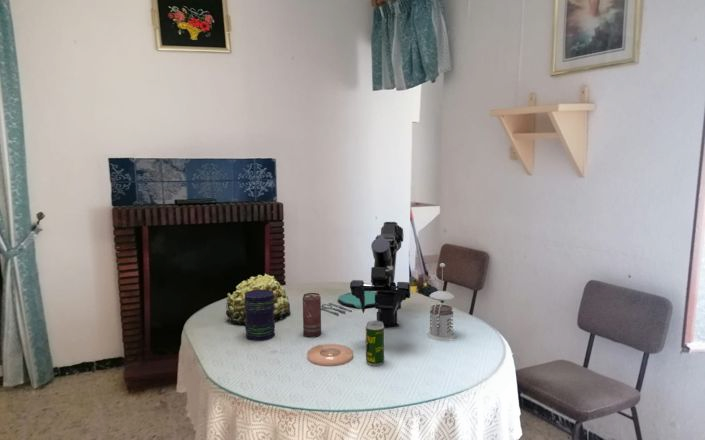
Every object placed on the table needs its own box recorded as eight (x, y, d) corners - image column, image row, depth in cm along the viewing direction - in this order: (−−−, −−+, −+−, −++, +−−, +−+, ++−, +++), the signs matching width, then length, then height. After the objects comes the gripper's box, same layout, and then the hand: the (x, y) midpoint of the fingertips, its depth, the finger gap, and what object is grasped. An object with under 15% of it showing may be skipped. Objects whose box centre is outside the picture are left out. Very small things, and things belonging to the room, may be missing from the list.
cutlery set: (395, 302, 207) (395, 297, 206) (339, 319, 188) (339, 313, 187) (364, 292, 222) (364, 287, 222) (309, 307, 203) (309, 302, 203)
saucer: (344, 345, 160) (344, 341, 160) (359, 361, 147) (359, 357, 147) (302, 351, 156) (302, 347, 155) (314, 369, 142) (314, 364, 142)
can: (319, 338, 166) (318, 297, 165) (301, 336, 168) (300, 296, 166) (323, 331, 172) (323, 292, 170) (306, 330, 174) (305, 291, 172)
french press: (458, 332, 171) (460, 261, 168) (450, 344, 160) (452, 268, 157) (431, 328, 175) (432, 259, 172) (421, 339, 165) (422, 265, 161)
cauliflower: (294, 323, 181) (293, 281, 179) (226, 329, 175) (224, 286, 173) (286, 304, 205) (285, 266, 203) (226, 308, 200) (224, 270, 197)
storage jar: (261, 343, 162) (259, 299, 160) (239, 337, 167) (237, 294, 165) (281, 334, 170) (280, 291, 169) (259, 328, 176) (258, 287, 174)
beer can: (373, 357, 150) (373, 319, 149) (387, 362, 147) (387, 322, 145) (362, 363, 146) (362, 323, 145) (376, 368, 143) (376, 327, 141)
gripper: (350, 255, 157) (344, 299, 147) (410, 257, 153) (407, 302, 144) (355, 273, 165) (349, 316, 156) (411, 275, 162) (409, 319, 153)
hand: (377, 313), depth 152 cm, fingers open, 9 cm apart
